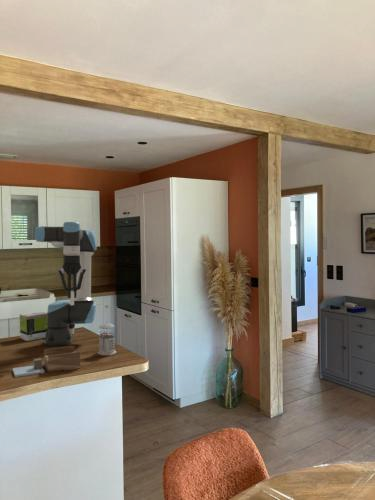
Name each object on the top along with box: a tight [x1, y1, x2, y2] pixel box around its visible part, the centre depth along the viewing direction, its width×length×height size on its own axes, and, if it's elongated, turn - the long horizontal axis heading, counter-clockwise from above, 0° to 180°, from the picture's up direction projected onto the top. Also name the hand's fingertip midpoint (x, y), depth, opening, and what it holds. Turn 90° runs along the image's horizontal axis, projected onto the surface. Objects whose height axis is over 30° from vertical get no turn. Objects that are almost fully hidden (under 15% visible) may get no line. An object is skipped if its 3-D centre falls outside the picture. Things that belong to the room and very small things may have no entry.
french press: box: [97, 304, 117, 356], centre depth 215 cm, size 10×12×25 cm
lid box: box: [43, 345, 81, 373], centre depth 192 cm, size 12×14×8 cm
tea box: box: [19, 310, 48, 342], centre depth 247 cm, size 15×10×15 cm
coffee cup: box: [69, 324, 76, 336], centre depth 256 cm, size 10×10×15 cm
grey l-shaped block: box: [12, 357, 45, 378], centre depth 184 cm, size 10×12×6 cm
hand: (71, 304), depth 194 cm, fingers closed
